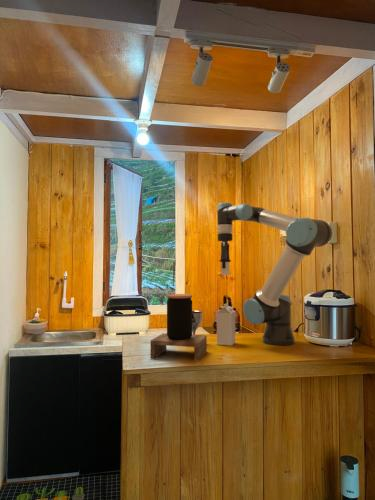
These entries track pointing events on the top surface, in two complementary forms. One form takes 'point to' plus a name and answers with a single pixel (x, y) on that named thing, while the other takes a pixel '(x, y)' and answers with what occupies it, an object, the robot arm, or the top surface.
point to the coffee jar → (179, 316)
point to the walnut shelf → (195, 341)
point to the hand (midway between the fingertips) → (225, 274)
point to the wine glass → (196, 320)
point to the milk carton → (226, 326)
